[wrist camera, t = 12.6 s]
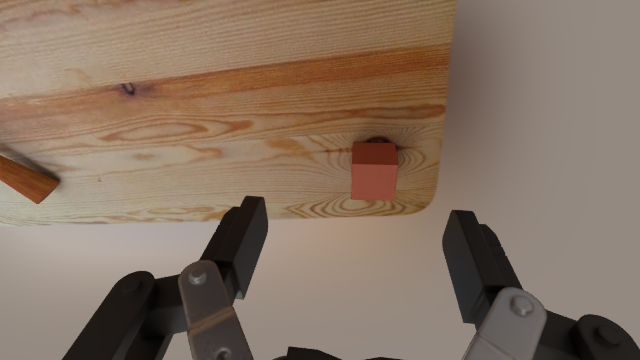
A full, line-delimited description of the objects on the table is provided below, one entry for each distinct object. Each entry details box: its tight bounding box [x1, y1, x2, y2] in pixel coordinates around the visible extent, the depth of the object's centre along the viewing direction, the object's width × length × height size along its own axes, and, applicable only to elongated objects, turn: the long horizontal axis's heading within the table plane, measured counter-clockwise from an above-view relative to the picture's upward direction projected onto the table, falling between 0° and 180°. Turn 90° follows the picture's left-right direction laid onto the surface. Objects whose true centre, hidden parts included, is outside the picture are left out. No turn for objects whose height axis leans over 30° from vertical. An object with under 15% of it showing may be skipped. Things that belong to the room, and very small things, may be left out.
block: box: [351, 142, 399, 201], centre depth 29 cm, size 4×4×4 cm
